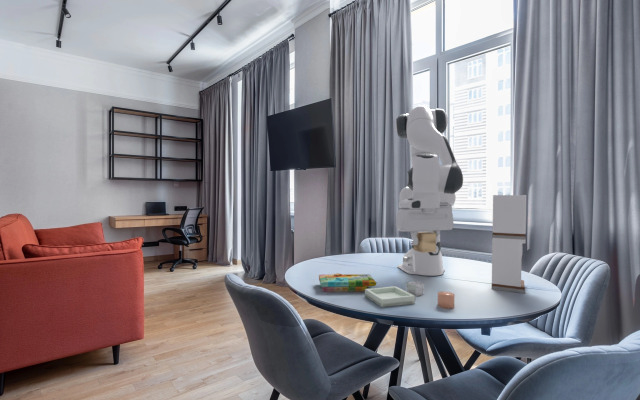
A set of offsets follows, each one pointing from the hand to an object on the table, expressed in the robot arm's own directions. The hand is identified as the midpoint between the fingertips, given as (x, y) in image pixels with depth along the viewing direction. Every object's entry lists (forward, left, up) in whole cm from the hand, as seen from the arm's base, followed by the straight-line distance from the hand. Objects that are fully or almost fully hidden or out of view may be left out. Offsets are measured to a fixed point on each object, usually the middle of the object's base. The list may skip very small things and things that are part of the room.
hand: (425, 244), depth 115 cm
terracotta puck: (+7, +3, -19) cm, 20 cm away
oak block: (0, 0, -2) cm, 2 cm away
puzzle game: (-22, -19, -19) cm, 35 cm away
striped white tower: (-4, +40, -19) cm, 44 cm away
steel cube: (-7, +1, -19) cm, 20 cm away
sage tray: (-4, -11, -19) cm, 22 cm away
